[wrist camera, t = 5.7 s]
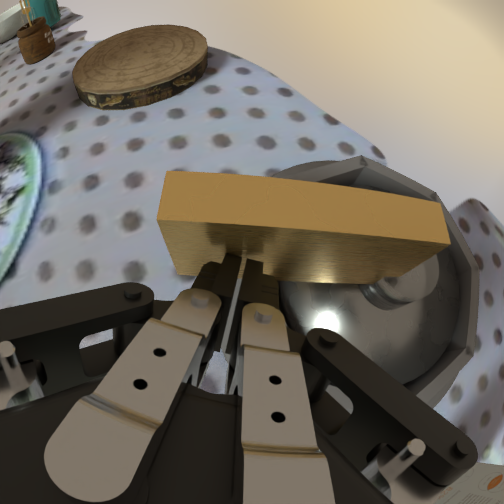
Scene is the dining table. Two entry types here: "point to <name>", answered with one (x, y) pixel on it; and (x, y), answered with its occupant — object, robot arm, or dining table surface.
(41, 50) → the utensil holder
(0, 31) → the cereal bowl
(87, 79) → the wooden log slice
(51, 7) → the beverage bottle
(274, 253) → the dial
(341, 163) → the dial housing
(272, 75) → the dining table surface
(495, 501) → the small box
